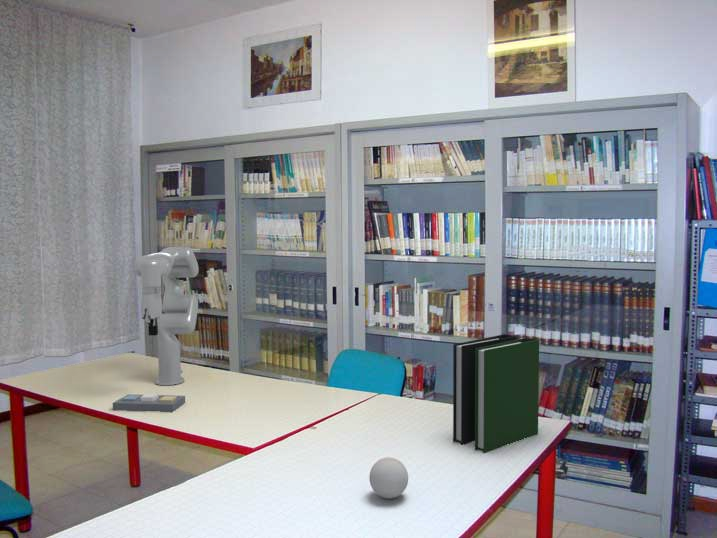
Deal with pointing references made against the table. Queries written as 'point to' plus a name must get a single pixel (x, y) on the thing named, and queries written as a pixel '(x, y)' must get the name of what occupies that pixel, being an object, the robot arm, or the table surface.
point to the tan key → (168, 399)
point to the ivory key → (149, 397)
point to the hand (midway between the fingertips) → (153, 334)
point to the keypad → (149, 404)
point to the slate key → (131, 398)
